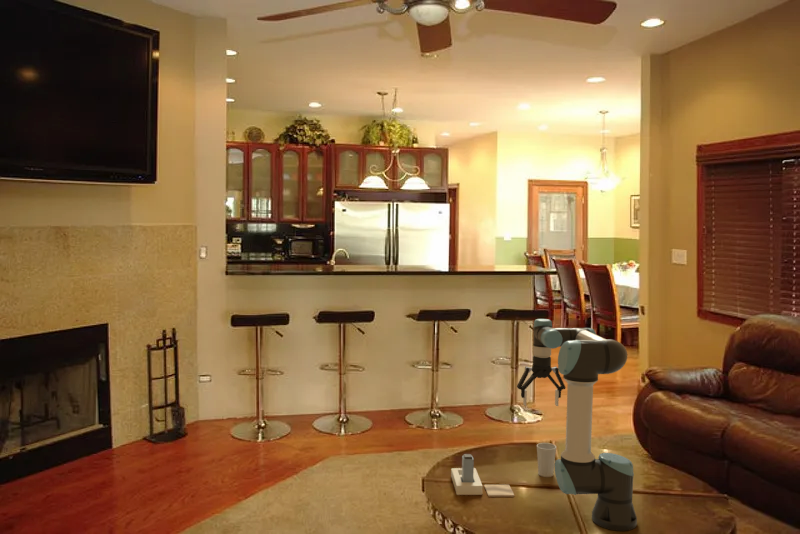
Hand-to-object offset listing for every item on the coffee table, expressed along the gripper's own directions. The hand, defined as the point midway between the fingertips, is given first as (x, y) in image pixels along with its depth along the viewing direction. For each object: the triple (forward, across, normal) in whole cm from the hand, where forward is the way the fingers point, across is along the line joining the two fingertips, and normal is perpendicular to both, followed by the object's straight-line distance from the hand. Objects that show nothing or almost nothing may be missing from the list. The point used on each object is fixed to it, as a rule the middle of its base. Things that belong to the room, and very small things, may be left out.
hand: (540, 405), depth 276 cm
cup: (+28, -2, +6) cm, 28 cm away
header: (+28, +33, +17) cm, 47 cm away
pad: (+28, +21, +23) cm, 42 cm away
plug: (+28, +33, +20) cm, 48 cm away
